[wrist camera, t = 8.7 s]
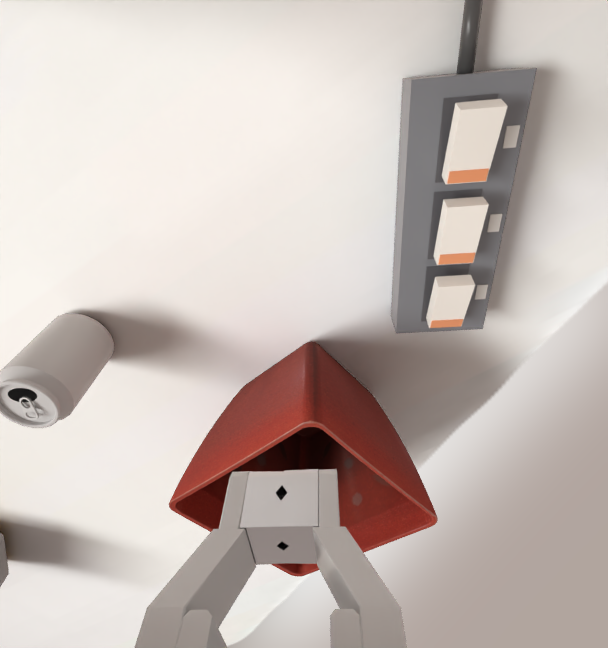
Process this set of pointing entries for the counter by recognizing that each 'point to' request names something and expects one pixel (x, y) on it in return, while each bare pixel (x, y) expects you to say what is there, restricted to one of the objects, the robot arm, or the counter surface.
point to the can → (54, 371)
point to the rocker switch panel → (430, 189)
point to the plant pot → (311, 451)
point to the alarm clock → (3, 560)
